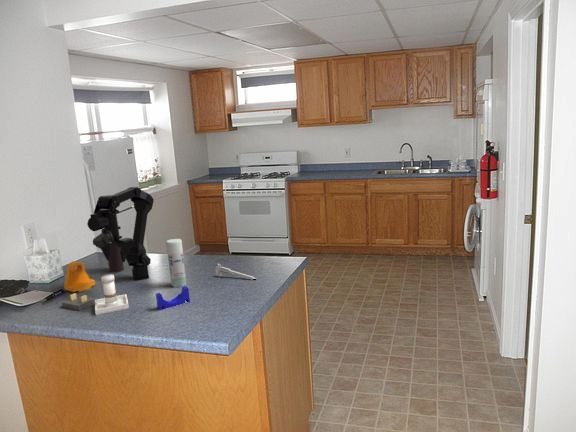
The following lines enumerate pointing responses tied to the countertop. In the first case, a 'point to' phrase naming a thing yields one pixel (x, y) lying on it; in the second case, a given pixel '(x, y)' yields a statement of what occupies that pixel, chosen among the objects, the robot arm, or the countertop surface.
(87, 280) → the bracket
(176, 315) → the countertop surface
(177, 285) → the spray paint can
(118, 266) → the bottle
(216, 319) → the countertop surface
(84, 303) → the fuse block
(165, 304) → the cable clip
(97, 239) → the robot arm
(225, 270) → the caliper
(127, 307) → the tray
